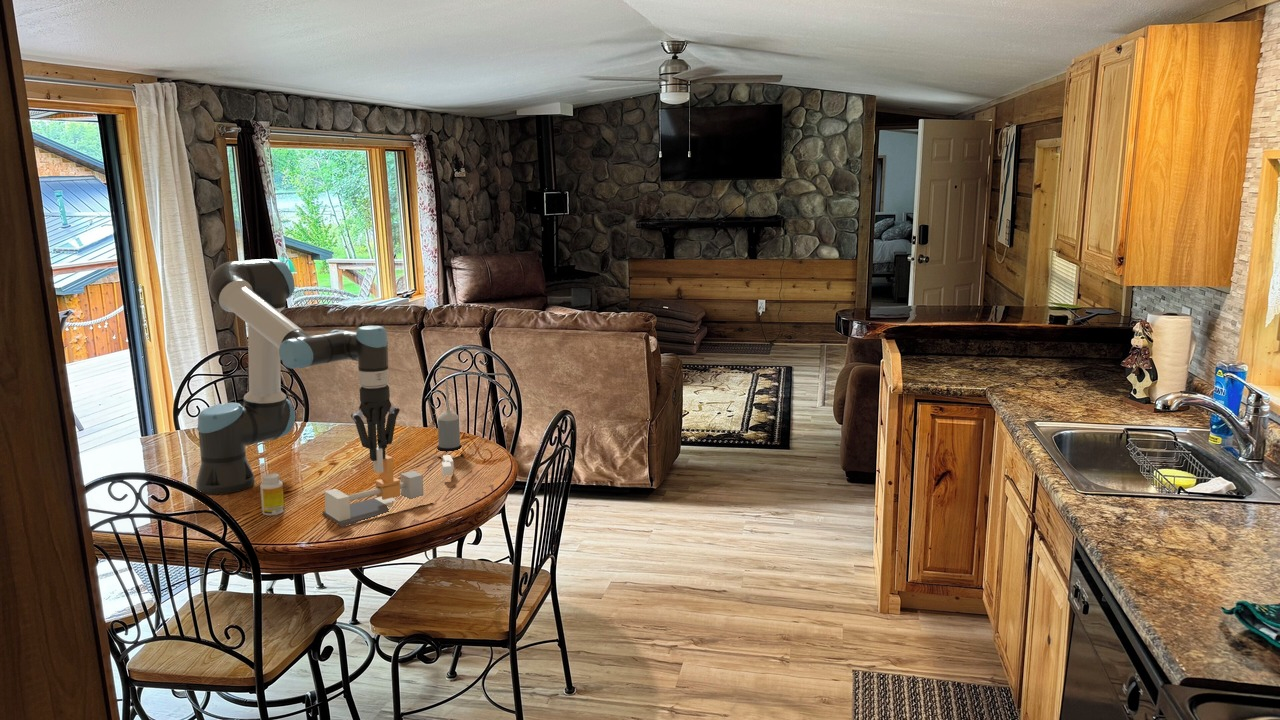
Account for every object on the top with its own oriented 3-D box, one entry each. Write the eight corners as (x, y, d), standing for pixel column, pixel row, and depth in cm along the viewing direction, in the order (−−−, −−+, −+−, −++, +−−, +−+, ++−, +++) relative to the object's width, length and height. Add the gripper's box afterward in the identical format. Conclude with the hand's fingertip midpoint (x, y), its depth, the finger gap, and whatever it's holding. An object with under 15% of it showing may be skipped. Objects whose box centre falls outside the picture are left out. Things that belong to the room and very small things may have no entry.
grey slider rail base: (342, 527, 221) (341, 499, 219) (322, 514, 229) (321, 487, 228) (433, 503, 238) (432, 477, 237) (411, 492, 247) (410, 467, 245)
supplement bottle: (288, 512, 230) (286, 475, 228) (267, 518, 226) (265, 480, 224) (279, 507, 234) (276, 470, 232) (258, 512, 230) (255, 475, 228)
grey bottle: (440, 451, 286) (437, 376, 282) (465, 451, 286) (463, 377, 281) (433, 458, 278) (431, 382, 274) (459, 458, 278) (456, 382, 273)
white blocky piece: (442, 468, 270) (442, 451, 269) (475, 473, 266) (474, 455, 265) (415, 483, 256) (414, 465, 255) (449, 488, 252) (448, 469, 251)
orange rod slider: (383, 499, 232) (381, 460, 230) (376, 496, 235) (374, 456, 233) (400, 495, 235) (398, 456, 233) (393, 491, 238) (391, 453, 236)
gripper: (357, 391, 220) (361, 480, 225) (404, 384, 229) (407, 469, 234) (344, 386, 226) (349, 473, 230) (390, 379, 235) (394, 463, 239)
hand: (378, 471), depth 232 cm, fingers closed
